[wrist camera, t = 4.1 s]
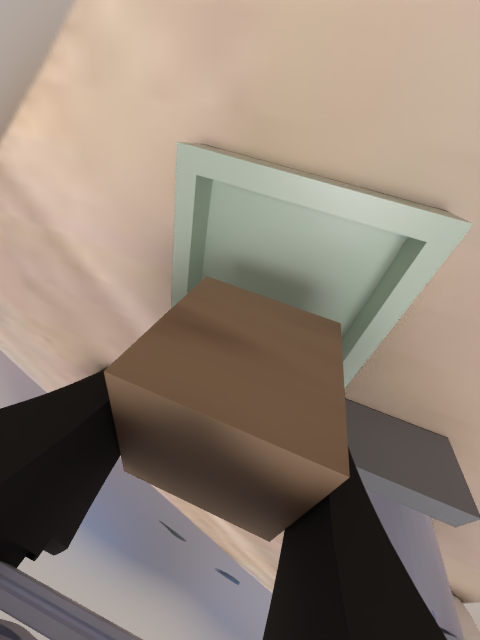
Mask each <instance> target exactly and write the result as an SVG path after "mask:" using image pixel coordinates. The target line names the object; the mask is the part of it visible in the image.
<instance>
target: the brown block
mask: <svg viewBox="0 0 480 640" xmlns="http://www.w3.org/2000/svg"><path fill="white" fill-rule="evenodd" d="M104 375H105V380H106V385H107V389H108V394H109V399H110V404H111V409H112V414H113V419H114V424H115V429H116V434H117V439H118V444H119V449H120V454H121V458H122V463H123V468H124V471H125V472H127V473H129V474H131V475H133V476H135V477H137V478H139V479H142V480H144V481H146V482H148V483H150V484H152V485H154V486H156V487H158V488H160V489H162V490H164V491H166V492H168V493H170V494H172V495H174V496H176V497H179V498H181V499H183V500H185V501H187V502H189V503H191V504H193V505H195V506H197V507H199V508H201V509H203V510H205V511H207V512H209V513H211V514H213V515H216V516H218V517H220V518H222V519H224V520H226V521H228V522H230V523H232V524H234V525H236V526H238V527H240V528H242V529H244V530H246V531H248V532H250V533H253V534H255V535H257V536H259V537H261V538H263V539H265V540H267V541H269V542H270V541H271V540H272V539H274V538H275V537H276V536H277V535H279V534H280V533H281V532H282V531H284V530H285V529H286V528H287V527H288V526H290V525H291V524H292V523H293V522H295V521H296V520H297V519H298V518H300V517H301V516H302V515H303V514H305V513H306V512H307V511H308V510H310V509H311V508H312V507H313V506H315V505H316V504H317V503H318V502H320V501H321V500H322V499H323V498H325V497H326V496H327V495H328V494H330V493H331V492H332V491H333V490H335V489H336V488H337V487H338V486H340V485H341V484H342V483H343V482H345V481H346V480H347V479H348V478H350V474H349V457H348V440H347V423H346V406H345V388H344V371H343V354H342V337H341V323H339V322H336V321H333V320H330V319H327V318H324V317H322V316H319V315H316V314H313V313H310V312H307V311H305V310H302V309H299V308H296V307H293V306H290V305H288V304H285V303H282V302H279V301H276V300H273V299H270V298H268V297H265V296H262V295H259V294H256V293H253V292H251V291H248V290H245V289H242V288H239V287H236V286H233V285H231V284H228V283H225V282H222V281H219V280H216V279H214V278H211V277H208V276H206V277H205V278H204V279H203V280H202V281H201V282H200V283H199V284H197V285H196V286H195V287H194V288H193V289H192V290H191V291H190V292H189V293H188V294H187V295H186V296H184V297H183V298H182V299H181V300H180V301H179V302H178V303H177V304H176V305H175V306H174V307H173V308H172V309H170V310H169V311H168V312H167V313H166V314H165V315H164V316H163V317H162V318H161V319H160V320H159V321H158V322H156V323H155V324H154V325H153V326H152V327H151V328H150V329H149V330H148V331H147V332H146V333H145V334H143V335H142V336H141V337H140V338H139V339H138V340H137V341H136V342H135V343H134V344H133V345H132V346H131V347H129V348H128V349H127V350H126V351H125V352H124V353H123V354H122V355H121V356H120V357H119V358H118V359H117V360H115V361H114V362H113V363H112V364H111V365H110V366H109V367H108V368H107V369H106V370H105V371H104Z"/></svg>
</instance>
